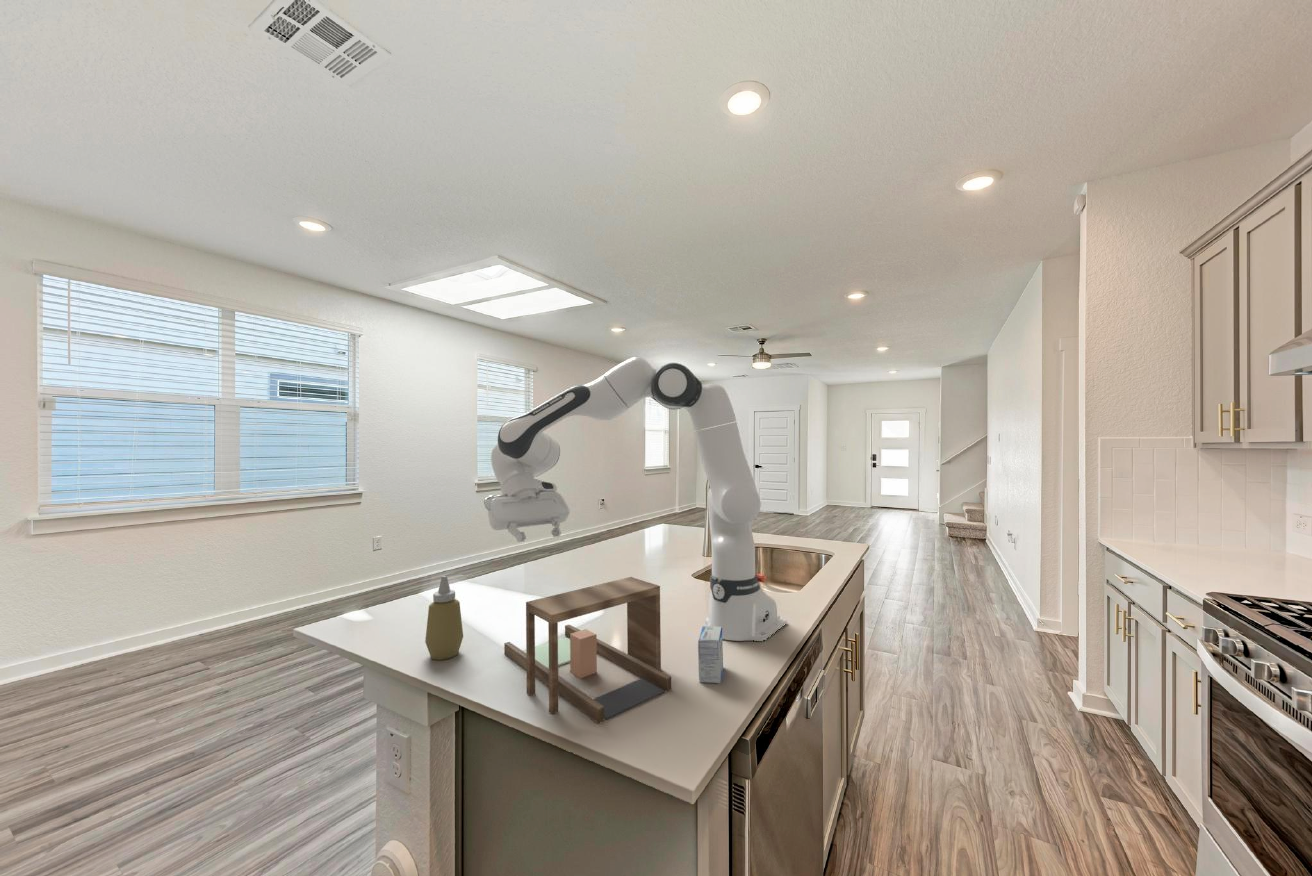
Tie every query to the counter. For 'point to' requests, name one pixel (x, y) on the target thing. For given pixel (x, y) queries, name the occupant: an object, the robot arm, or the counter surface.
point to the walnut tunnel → (588, 600)
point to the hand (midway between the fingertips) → (540, 537)
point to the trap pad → (628, 697)
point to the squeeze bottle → (444, 623)
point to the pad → (563, 652)
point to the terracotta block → (583, 653)
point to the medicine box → (710, 654)
